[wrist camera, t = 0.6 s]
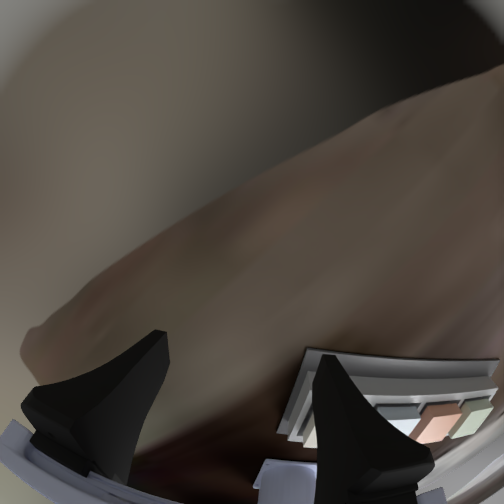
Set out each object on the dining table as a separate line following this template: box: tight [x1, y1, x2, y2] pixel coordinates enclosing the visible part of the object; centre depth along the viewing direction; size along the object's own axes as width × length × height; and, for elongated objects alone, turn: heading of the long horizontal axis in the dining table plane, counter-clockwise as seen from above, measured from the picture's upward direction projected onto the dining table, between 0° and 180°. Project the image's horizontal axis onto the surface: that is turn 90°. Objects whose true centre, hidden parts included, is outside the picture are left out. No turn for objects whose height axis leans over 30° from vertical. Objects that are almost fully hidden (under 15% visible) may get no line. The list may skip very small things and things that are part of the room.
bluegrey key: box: [374, 403, 421, 436], centre depth 20 cm, size 4×4×3 cm
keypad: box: [277, 348, 500, 442], centre depth 22 cm, size 12×26×3 cm, turn 81°
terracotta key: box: [409, 401, 463, 444], centre depth 20 cm, size 4×4×3 cm
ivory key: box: [303, 410, 317, 448], centre depth 21 cm, size 4×4×3 cm
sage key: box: [448, 397, 494, 439], centre depth 19 cm, size 4×4×3 cm
